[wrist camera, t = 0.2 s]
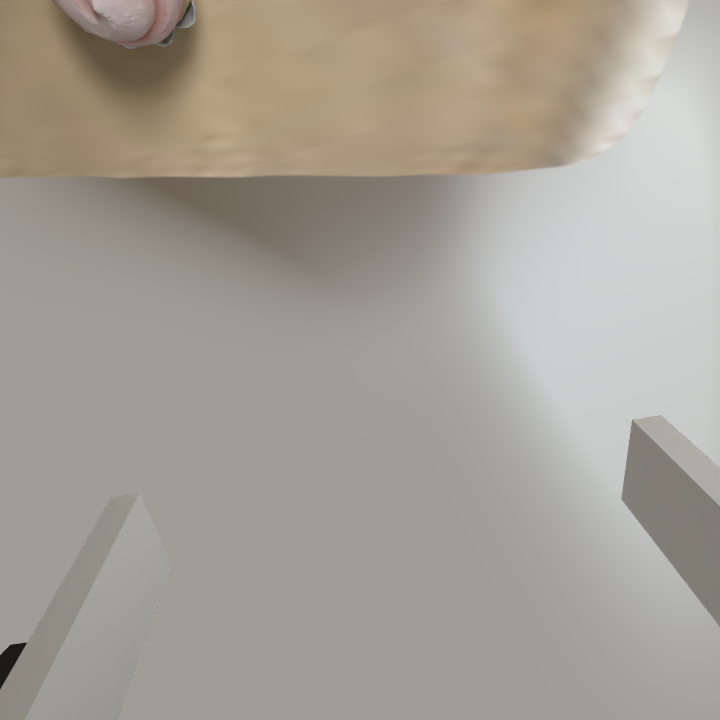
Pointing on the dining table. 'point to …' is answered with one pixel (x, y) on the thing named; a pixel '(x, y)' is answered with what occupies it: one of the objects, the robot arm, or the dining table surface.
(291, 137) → the dining table surface
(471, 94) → the dining table surface
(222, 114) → the dining table surface
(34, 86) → the dining table surface
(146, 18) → the cupcake
